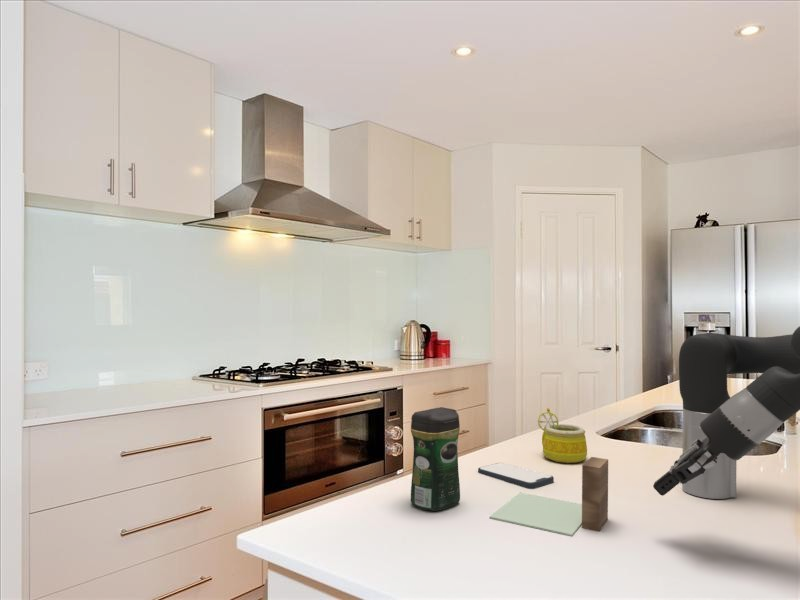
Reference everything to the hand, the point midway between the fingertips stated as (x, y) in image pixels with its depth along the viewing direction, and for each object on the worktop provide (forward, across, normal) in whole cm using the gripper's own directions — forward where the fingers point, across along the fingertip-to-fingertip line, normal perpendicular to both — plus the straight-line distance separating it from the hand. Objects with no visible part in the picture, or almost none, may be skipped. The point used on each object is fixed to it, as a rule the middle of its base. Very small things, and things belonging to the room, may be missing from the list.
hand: (657, 490), depth 98 cm
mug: (+25, +42, +13) cm, 51 cm away
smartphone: (+28, +21, +17) cm, 39 cm away
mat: (+20, +2, +9) cm, 22 cm away
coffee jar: (+33, -5, +23) cm, 41 cm away
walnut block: (+13, +1, +2) cm, 13 cm away
